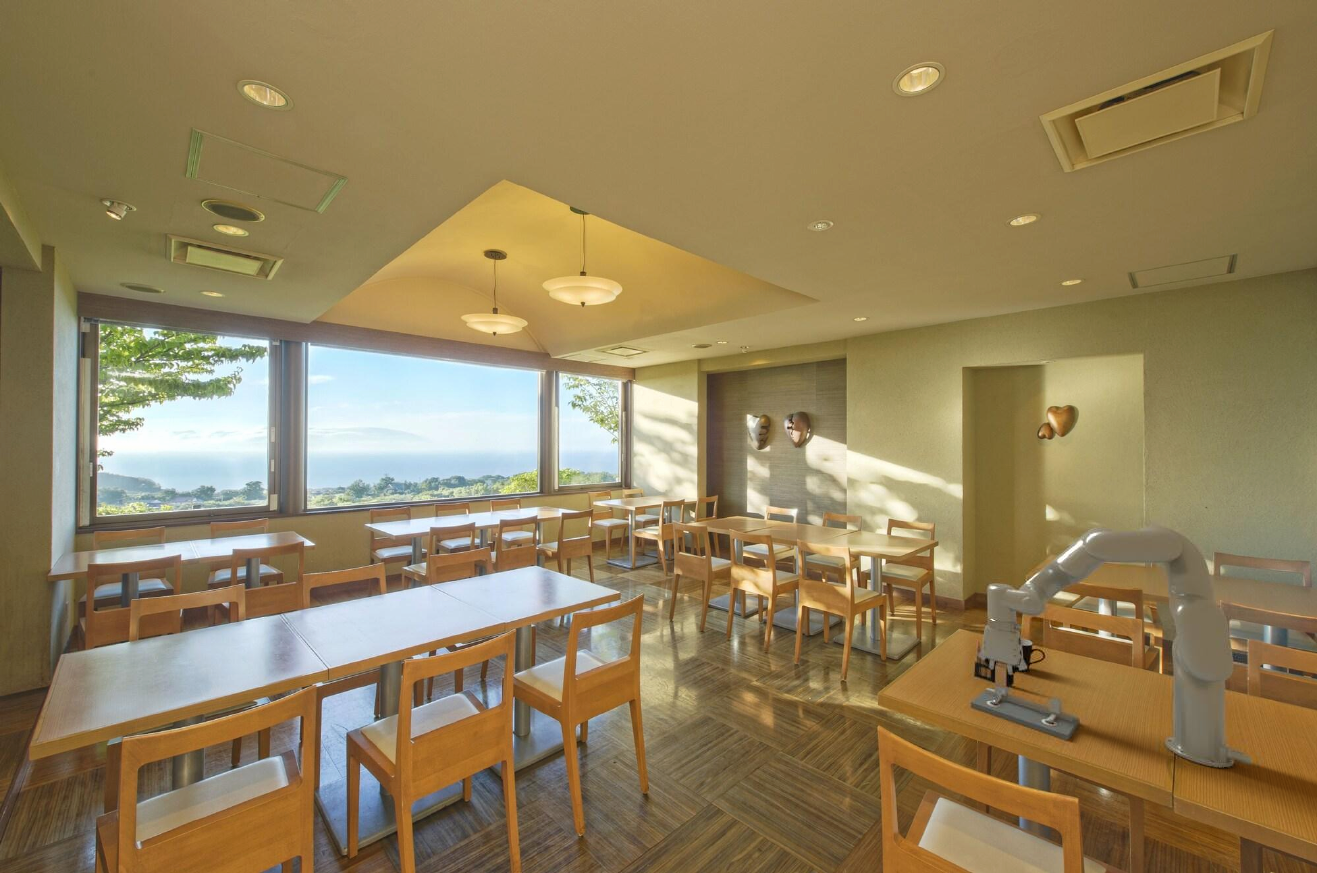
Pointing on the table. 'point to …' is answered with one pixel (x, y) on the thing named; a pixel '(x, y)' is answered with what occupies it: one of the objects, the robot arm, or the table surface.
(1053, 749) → the table surface
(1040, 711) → the grey slotted base plate
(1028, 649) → the coffee mug
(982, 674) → the ammunition clip
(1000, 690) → the sliding leg
